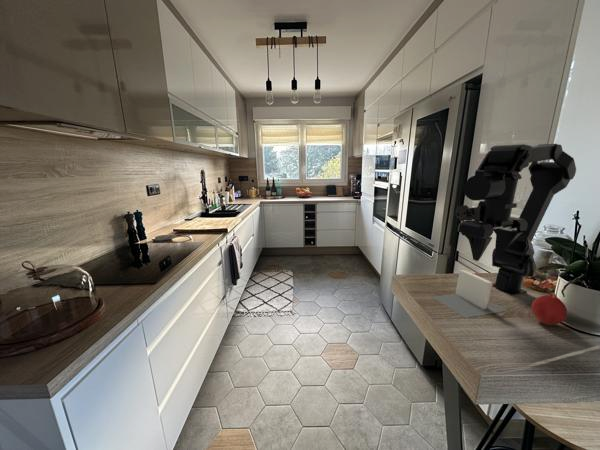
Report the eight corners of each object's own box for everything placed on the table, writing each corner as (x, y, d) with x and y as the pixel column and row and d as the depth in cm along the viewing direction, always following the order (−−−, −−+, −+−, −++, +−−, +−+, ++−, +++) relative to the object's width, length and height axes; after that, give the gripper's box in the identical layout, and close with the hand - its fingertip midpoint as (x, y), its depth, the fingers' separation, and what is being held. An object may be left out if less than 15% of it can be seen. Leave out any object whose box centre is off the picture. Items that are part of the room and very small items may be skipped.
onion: (529, 314, 62) (537, 284, 60) (562, 325, 58) (571, 293, 56) (526, 323, 58) (535, 292, 56) (562, 336, 54) (572, 302, 52)
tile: (459, 293, 71) (464, 269, 69) (487, 308, 63) (493, 282, 62) (455, 293, 70) (459, 270, 69) (482, 309, 63) (488, 283, 61)
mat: (470, 292, 72) (471, 291, 72) (507, 311, 63) (508, 310, 63) (431, 298, 68) (431, 296, 68) (464, 319, 59) (464, 318, 59)
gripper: (487, 193, 73) (477, 244, 77) (442, 195, 65) (434, 252, 69) (535, 198, 63) (521, 256, 67) (488, 202, 56) (476, 267, 59)
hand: (487, 257), depth 66 cm, fingers open, 9 cm apart
